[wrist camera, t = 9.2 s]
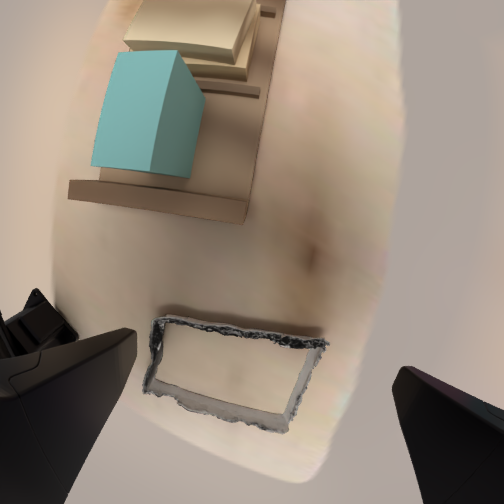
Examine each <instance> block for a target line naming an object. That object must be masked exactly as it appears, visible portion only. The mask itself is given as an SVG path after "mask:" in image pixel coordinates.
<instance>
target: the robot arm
mask: <svg viewBox="0 0 504 504" xmlns="http://www.w3.org/2000/svg"><path fill="white" fill-rule="evenodd" d="M1 315H2V314H1V311H0V504H64V502H65V500H66V498H67V496H68V494H67V493H69V492H70V490H71V488H72V486H73V483H74V481H75V479H76V477H77V476H78V474H79V472H80V470H81V468H82V466H83V464H84V462H85V460H86V458H87V456H88V454H89V452H90V451H91V449H92V447H93V445H94V443H95V441H96V439H97V437H98V436H99V434H100V432H101V430H102V428H103V426H104V425H105V423H106V421H107V419H108V417H109V415H110V414H111V412H112V410H113V408H114V406H115V405H116V403H117V401H118V399H119V397H120V396H121V394H122V391H123V389H124V387H125V384H126V382H127V379H128V377H129V374H130V372H131V369H132V367H133V365H134V362H135V360H136V357H137V333H136V331H135V330H133V329H129V328H121V329H118V330H114V331H111V332H107V333H104V334H100V335H97V336H94V337H90V338H86V339H83V340H79V341H77V340H78V335H77V333H76V332H75V331H74V330H73V329H72V328H71V327H70V326H69V325H68V324H67V322H66V321H65V320H64V319H63V318H62V317H61V316H60V315H59V313H58V312H57V311H56V310H55V309H54V308H53V306H52V305H51V304H50V303H49V302H48V300H47V299H46V298H45V297H44V295H43V294H42V293H41V292H40V291H39V289H37V288H35V289H33V290H32V292H31V294H30V296H29V298H28V300H27V302H26V304H25V307H24V309H23V311H21V312H19V313H18V314H16V315H14V316H13V317H11V318H10V319H8V320H6V321H5V322H4V320H3V318H2V316H1ZM73 337H74V338H73ZM392 393H393V397H394V401H395V406H396V410H397V414H398V419H399V423H400V426H401V430H402V433H403V435H404V439H405V442H406V445H407V448H408V451H409V454H410V458H411V461H412V464H413V467H414V470H415V474H416V478H417V481H418V485H419V489H420V492H421V496H422V500H423V504H504V410H502V409H500V408H497V407H495V406H493V405H491V404H489V403H486V402H483V401H482V400H480V399H478V398H476V397H474V396H472V395H470V394H468V393H466V392H463V391H461V390H459V389H457V388H455V387H453V386H451V385H449V384H447V383H445V382H443V381H441V380H439V379H437V378H435V377H433V376H431V375H429V374H427V373H425V372H423V371H420V370H419V369H417V368H415V367H413V366H403V367H401V369H400V370H399V372H398V374H397V377H396V379H395V381H394V383H393V385H392Z"/></svg>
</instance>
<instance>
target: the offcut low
mask: <svg viewBox="0 0 504 504" xmlns="http://www.w3.org/2000/svg"><path fill="white" fill-rule="evenodd" d="M259 24H260V4H256V12H255V14H254V17H253V19H252V22H251V24H250V27H249V29H248V32H247V34H246V37H245V39H244V42H243V45H242V47H241V50H240V53H239V55H238V58H237V61H236V63H235V65H230V64H225V63H219V62H213V61H207V60H200V59H192V58H184V57H182V59H183V60H184V62H185V64H186V65H187V67H188V69H189V71H190V72H191V74H192V76H193V77H201V78H215V79H225V80H234V81H243V82H247V79H248V74H249V69H250V65H251V60H252V55H253V51H254V46H255V42H256V37H257V33H258V29H259ZM129 52H133V50H132V49H131V48H130V51H129Z"/></svg>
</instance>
